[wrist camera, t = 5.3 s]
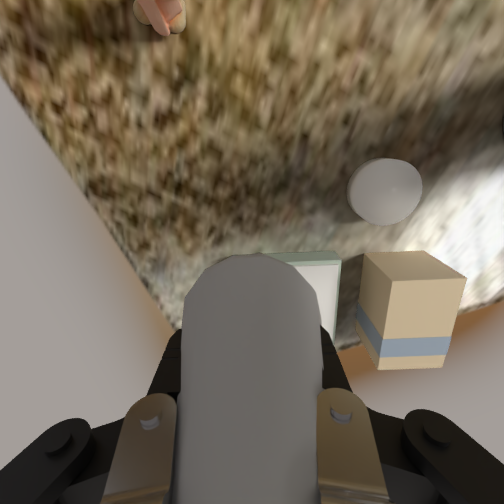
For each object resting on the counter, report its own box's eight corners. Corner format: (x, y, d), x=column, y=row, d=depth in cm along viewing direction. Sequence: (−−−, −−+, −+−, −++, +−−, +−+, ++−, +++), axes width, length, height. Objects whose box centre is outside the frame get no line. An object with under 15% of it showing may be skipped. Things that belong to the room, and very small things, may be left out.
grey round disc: (397, 145, 28) (411, 146, 25) (415, 201, 30) (430, 208, 27) (337, 175, 29) (344, 179, 26) (358, 227, 31) (366, 235, 28)
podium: (334, 250, 32) (342, 261, 29) (328, 333, 37) (334, 349, 34) (232, 255, 32) (231, 266, 30) (239, 337, 37) (238, 353, 34)
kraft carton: (423, 250, 32) (468, 278, 26) (408, 326, 36) (442, 367, 30) (363, 253, 32) (392, 281, 26) (354, 329, 37) (377, 370, 30)
